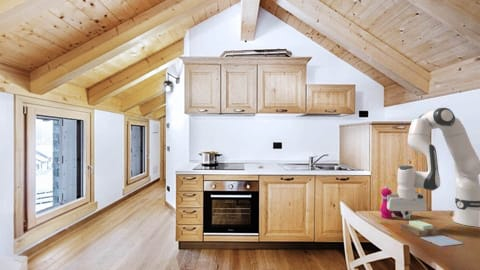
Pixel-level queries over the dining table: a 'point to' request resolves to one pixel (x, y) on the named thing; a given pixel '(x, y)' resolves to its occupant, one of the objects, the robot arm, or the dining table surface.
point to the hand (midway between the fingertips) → (406, 218)
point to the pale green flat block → (421, 225)
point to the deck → (421, 231)
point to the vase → (399, 214)
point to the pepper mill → (385, 204)
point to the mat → (441, 240)
